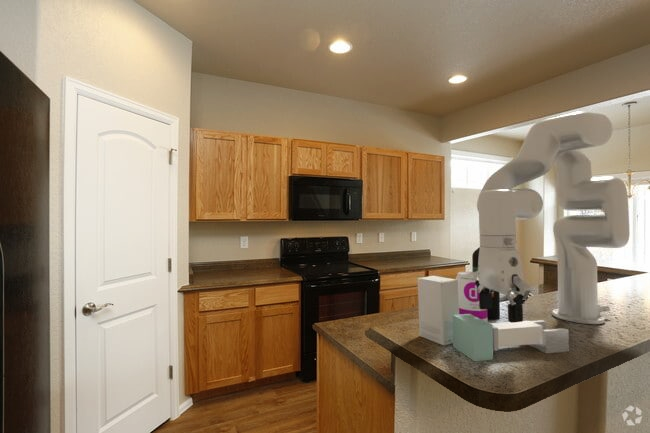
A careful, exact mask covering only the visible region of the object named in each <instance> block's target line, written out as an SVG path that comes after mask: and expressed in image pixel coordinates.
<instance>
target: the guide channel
mask: <svg viewBox="0 0 650 433" xmlns="http://www.w3.org/2000/svg"><path fill="white" fill-rule="evenodd" d="M530 321H531V322H533V323H536V324H538V325H541V326H542V329H543V330H542V343H540V344H528V345H529V346H530V347H532V348H534V349H536V350H539V351H540V352H542V353H545V354H553V353H554V354H555V353H567V352H569V351H570V350H569V349H570V347H569V346H570V344H569V341H570V338H569V337H570V336H569V329H568V328H563V327H562V328H552V329H547V321H546V320H543V319H542V320H541V319H540V320H530Z"/></svg>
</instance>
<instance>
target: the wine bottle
mask: <svg viewBox="0 0 650 433" xmlns="http://www.w3.org/2000/svg"><path fill="white" fill-rule="evenodd" d="M479 250H480V246H479V247H478V248H477V249H475V250H474V251H473V252H472V258H471V259H472V260H471V261H472V264H471V265H472V268H471V270H472V271H471V272H476V271H478V259H479ZM490 292H491V293H492V308H491V309H487V321H497V320H500V318H501V307H500V305H501V302H500V301H501V300H500V299H501V297H500V295H501V293H499V292H496V291H493V290H490Z"/></svg>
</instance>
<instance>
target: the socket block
mask: <svg viewBox="0 0 650 433" xmlns="http://www.w3.org/2000/svg"><path fill="white" fill-rule="evenodd" d="M490 323H491V322H488V321H487V322H486V321H484V320H482V319H479V318H477V317H475V316H473V315H471V314H461V315H453V343H452V345H453V348H455V349H456V350H458V351H459V352H460V353H462V354H463V355H465V356H466V357H468V358H469V359H470V360H472V361H473V362H480V361H481V362H482V361H492V360H493V359H494V350H493V325H492V324H490Z"/></svg>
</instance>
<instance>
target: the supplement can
mask: <svg viewBox="0 0 650 433" xmlns="http://www.w3.org/2000/svg"><path fill="white" fill-rule="evenodd" d="M473 273H475V272H472V271H459V272H457V274H456V277H455V279H456V280H458V299H459V315H461V314H471V315H473V316H475V317H477V318H479V319H482V320H484V321H486V322H488V320H487V309H483V310H482V309H480V308H479V293H478V291H477V286H476V284H475V279H474V276H473Z"/></svg>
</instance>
